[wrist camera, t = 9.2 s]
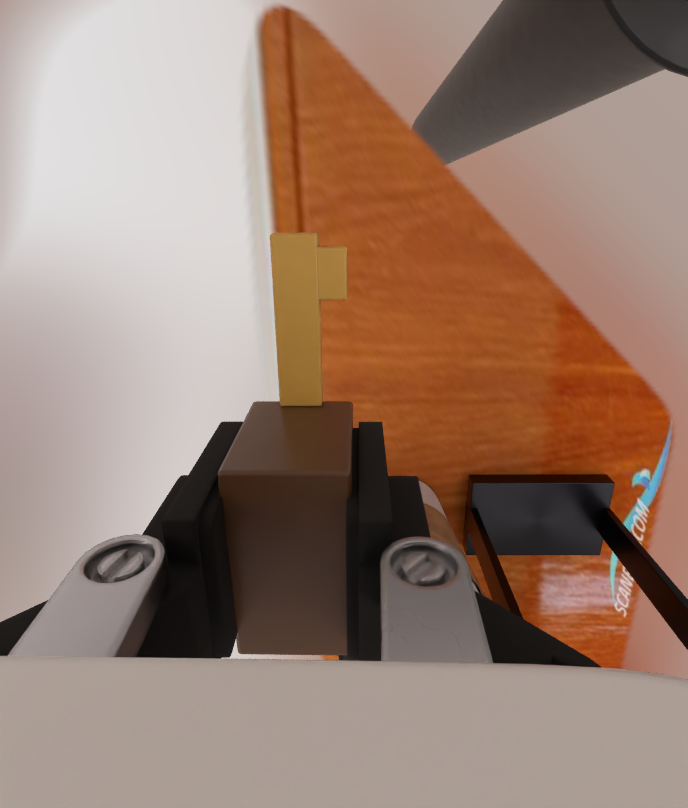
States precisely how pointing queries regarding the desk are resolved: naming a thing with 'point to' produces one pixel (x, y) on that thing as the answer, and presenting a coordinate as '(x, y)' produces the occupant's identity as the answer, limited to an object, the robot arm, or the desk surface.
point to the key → (292, 475)
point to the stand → (559, 533)
